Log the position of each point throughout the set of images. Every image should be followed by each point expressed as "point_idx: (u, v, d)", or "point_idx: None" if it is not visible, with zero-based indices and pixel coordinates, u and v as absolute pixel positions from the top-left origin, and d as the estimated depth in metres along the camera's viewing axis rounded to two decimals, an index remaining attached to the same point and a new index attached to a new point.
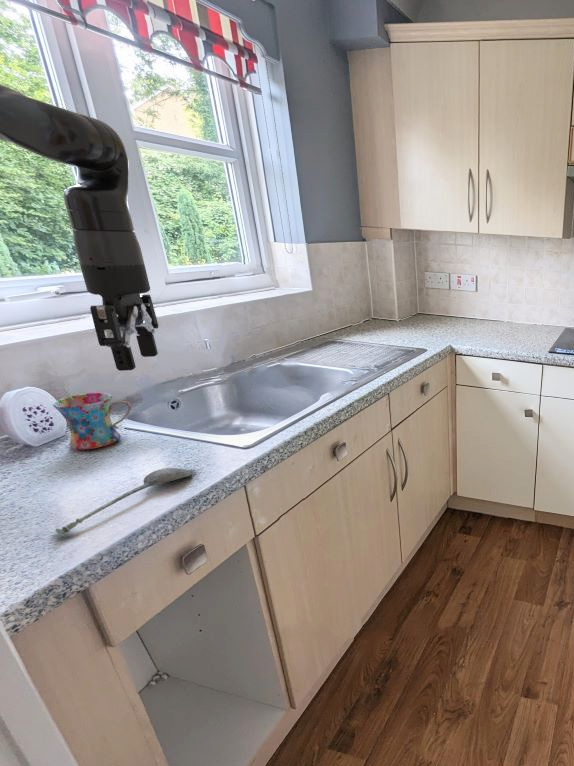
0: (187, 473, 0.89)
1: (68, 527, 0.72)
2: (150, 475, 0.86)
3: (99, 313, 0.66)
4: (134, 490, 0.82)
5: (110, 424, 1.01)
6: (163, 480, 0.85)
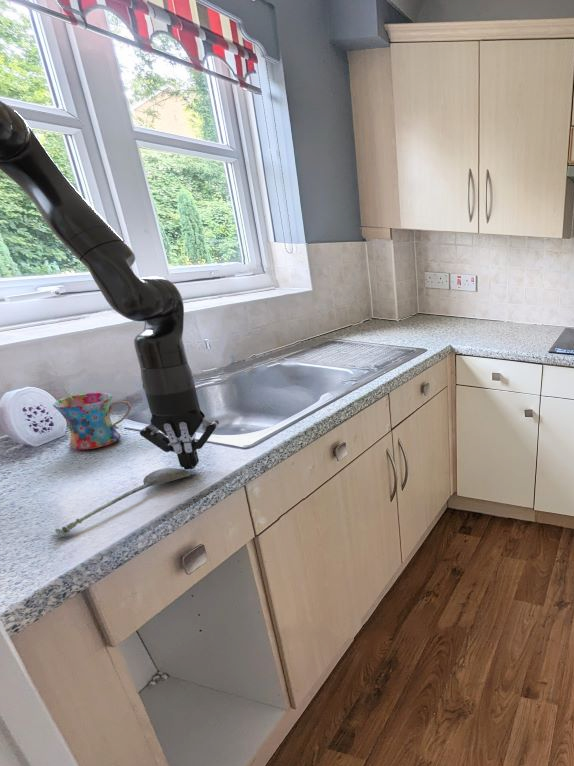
0: (187, 473, 0.89)
1: (68, 527, 0.72)
2: (150, 475, 0.86)
3: None
4: (134, 490, 0.82)
5: (110, 424, 1.01)
6: (163, 480, 0.85)
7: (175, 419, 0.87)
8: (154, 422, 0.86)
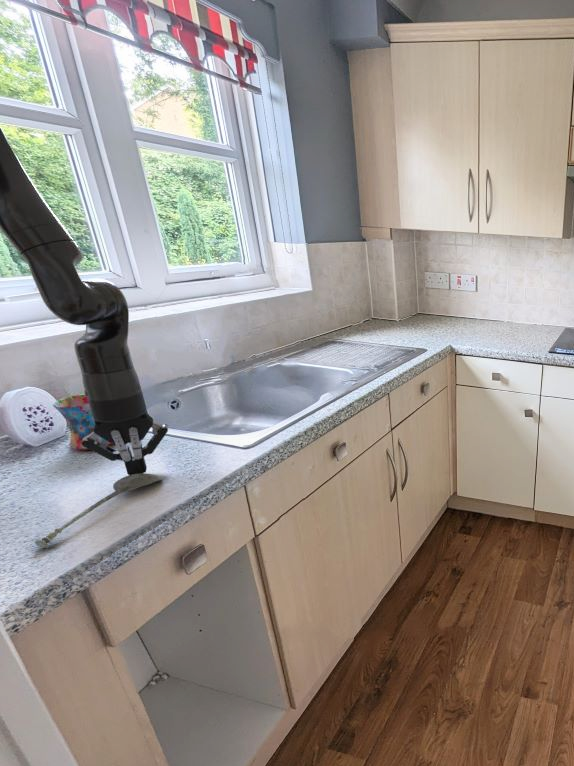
0: (159, 477, 0.87)
1: (49, 537, 0.70)
2: (120, 481, 0.83)
3: None
4: (108, 497, 0.79)
5: None
6: (137, 485, 0.83)
7: (123, 425, 0.84)
8: (98, 430, 0.82)
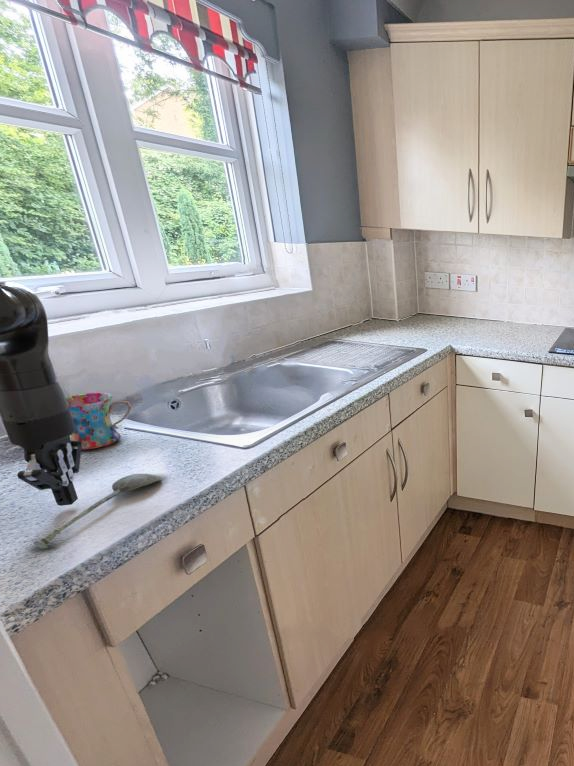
0: (158, 477, 0.87)
1: (48, 538, 0.69)
2: (119, 482, 0.83)
3: (29, 479, 0.71)
4: (107, 497, 0.79)
5: (110, 424, 1.01)
6: (136, 486, 0.83)
7: (56, 445, 0.75)
8: (43, 456, 0.72)
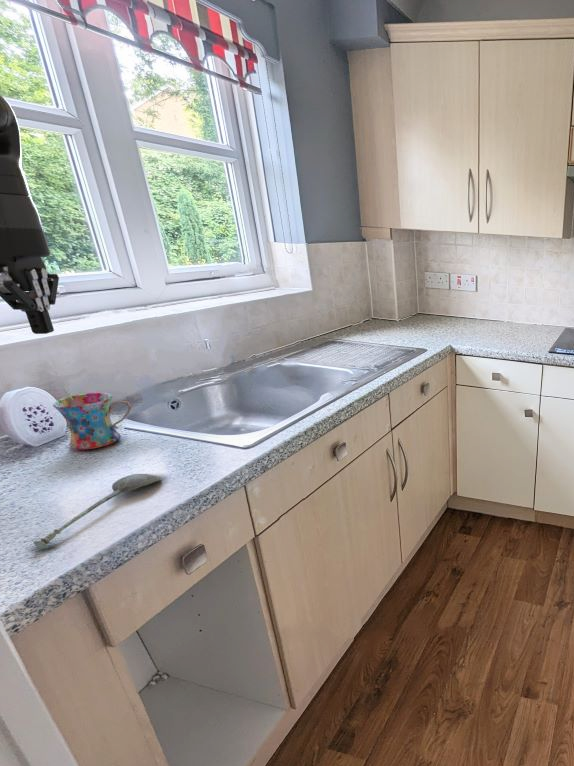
0: (158, 477, 0.87)
1: (48, 538, 0.69)
2: (119, 482, 0.83)
3: (1, 289, 0.70)
4: (107, 497, 0.79)
5: (110, 424, 1.01)
6: (136, 486, 0.83)
7: (30, 266, 0.74)
8: (16, 270, 0.71)
